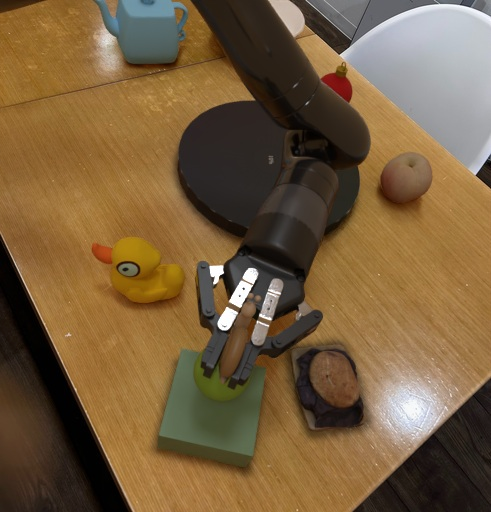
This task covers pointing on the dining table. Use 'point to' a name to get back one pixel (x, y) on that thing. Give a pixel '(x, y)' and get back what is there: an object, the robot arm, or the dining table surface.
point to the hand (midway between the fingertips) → (220, 379)
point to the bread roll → (327, 387)
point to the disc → (242, 166)
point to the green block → (210, 418)
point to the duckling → (140, 270)
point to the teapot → (146, 29)
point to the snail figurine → (227, 359)
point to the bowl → (289, 16)
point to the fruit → (406, 177)
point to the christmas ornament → (339, 82)
